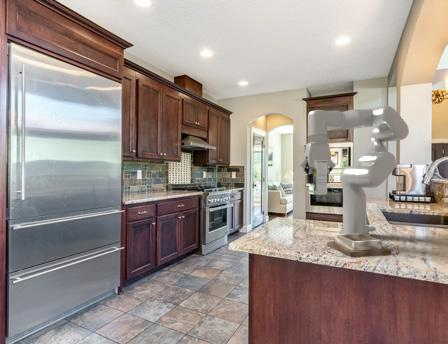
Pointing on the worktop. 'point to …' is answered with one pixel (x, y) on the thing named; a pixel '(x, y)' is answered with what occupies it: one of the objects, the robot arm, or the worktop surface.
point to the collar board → (358, 245)
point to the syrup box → (319, 178)
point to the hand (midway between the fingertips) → (317, 183)
